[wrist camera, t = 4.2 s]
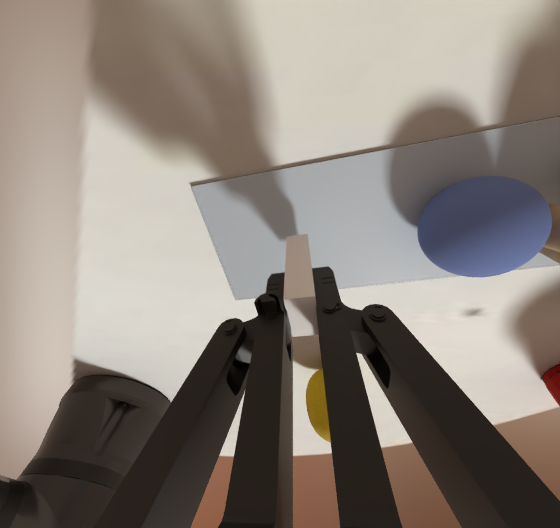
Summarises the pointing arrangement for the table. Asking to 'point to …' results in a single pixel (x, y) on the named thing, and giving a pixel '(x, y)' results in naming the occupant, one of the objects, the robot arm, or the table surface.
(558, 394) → the plastic cup
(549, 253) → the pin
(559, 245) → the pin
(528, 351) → the table surface
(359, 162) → the plate
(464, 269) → the ball
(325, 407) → the lemon
